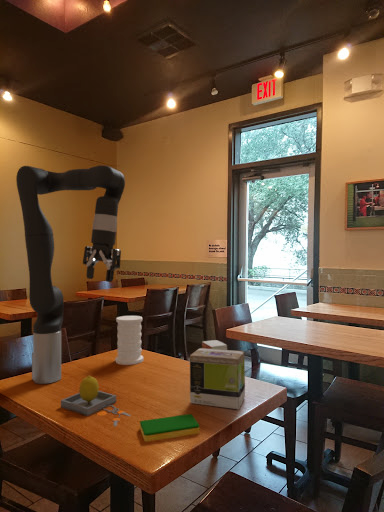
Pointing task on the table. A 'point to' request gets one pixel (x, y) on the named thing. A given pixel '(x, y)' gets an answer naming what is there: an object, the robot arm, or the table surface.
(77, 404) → the tray
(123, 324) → the decorative container
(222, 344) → the small box
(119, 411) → the key chain
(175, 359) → the table surface
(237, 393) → the tea box
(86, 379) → the lemon
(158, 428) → the dish sponge
